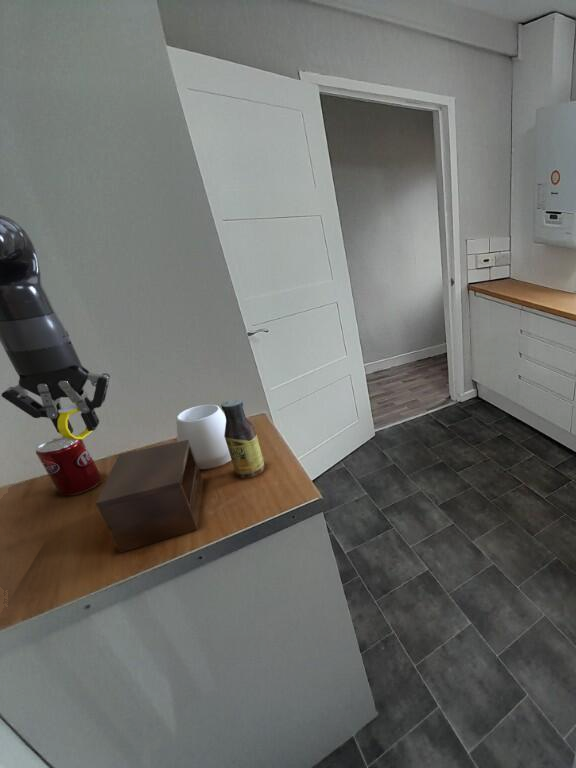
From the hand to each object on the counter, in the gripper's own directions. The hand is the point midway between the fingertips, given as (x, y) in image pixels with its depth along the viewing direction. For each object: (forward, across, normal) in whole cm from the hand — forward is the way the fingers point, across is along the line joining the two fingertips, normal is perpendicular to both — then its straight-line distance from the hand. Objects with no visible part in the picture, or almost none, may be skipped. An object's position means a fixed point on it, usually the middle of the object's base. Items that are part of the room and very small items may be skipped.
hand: (81, 430), depth 75 cm
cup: (+23, +14, +19) cm, 33 cm away
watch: (+1, 0, 0) cm, 1 cm away
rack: (+23, +6, 0) cm, 24 cm away
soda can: (+23, -12, +21) cm, 33 cm away
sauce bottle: (+23, +22, +8) cm, 33 cm away
